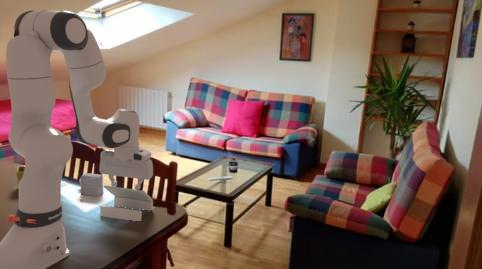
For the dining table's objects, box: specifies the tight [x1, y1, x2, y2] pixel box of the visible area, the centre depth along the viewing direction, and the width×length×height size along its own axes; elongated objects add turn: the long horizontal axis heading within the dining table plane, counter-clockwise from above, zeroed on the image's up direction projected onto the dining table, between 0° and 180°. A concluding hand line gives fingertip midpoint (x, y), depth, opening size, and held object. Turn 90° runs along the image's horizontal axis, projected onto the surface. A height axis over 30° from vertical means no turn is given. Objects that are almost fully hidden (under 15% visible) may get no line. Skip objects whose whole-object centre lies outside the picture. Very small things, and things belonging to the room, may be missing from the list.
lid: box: [103, 184, 154, 203], centre depth 152 cm, size 12×16×1 cm
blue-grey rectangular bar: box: [116, 206, 142, 211], centre depth 151 cm, size 3×10×2 cm, turn 81°
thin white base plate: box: [99, 196, 154, 222], centre depth 152 cm, size 12×16×4 cm
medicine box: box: [80, 172, 104, 197], centre depth 168 cm, size 8×4×9 cm, turn 84°
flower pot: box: [16, 166, 25, 185], centre depth 168 cm, size 9×9×9 cm
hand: (125, 187), depth 148 cm, fingers open, 8 cm apart
